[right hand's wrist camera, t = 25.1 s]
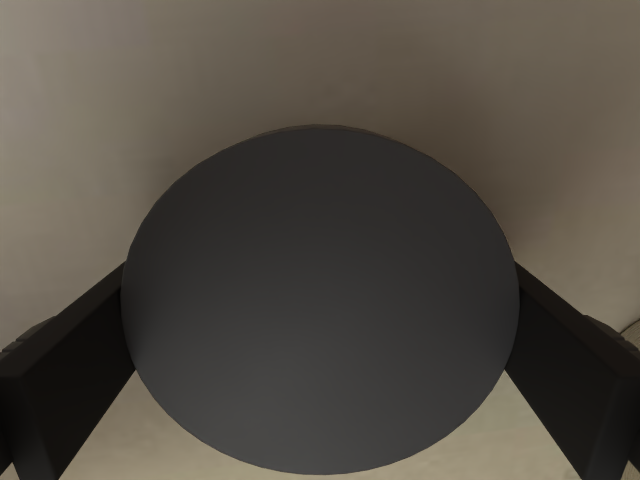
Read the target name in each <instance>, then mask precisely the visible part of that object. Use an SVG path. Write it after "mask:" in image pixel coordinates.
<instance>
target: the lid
mask: <svg viewBox="0 0 640 480" xmlns="http://www.w3.org/2000/svg"><path fill="white" fill-rule="evenodd" d="M120 303H121V320H122V325H123V330H124V335H125V339H126V343H127V347H128V350H129V353H130V356H131V359H132V362H133V364H134V366H135V368H136V370H137V372H138V374H139V376H140V378H141V380H142V381H143V383H144V384H145V386H146V387H147V389H148V390H149V392H150V393H151V395H152V396H153V398H154V399H155V400H156V401H157V402H158V403H159V405H160V406H161V407H162V408H163V409H164V410H165V411H166V413H167V414H168V415H169V416H170V417H172V418H173V419H174V420H175V421H176V422H177V423H178V424H179V425H180V426H181V427H183V428H184V429H185V430H186V431H188V432H189V433H191V434H192V435H193V436H195V437H196V438H198V439H199V440H200V441H202V442H204V443H205V444H207V445H209V446H211V447H212V448H214V449H216V450H218V451H219V452H222V453H224V454H226V455H228V456H231V457H233V458H235V459H238V460H240V461H243V462H246V463H249V464H252V465H255V466H258V467H262V468H266V469H271V470H275V471H280V472H287V473H295V474H304V475H333V474H347V473H353V472H359V471H365V470H370V469H374V468H378V467H381V466H385V465H389V464H392V463H394V462H397V461H400V460H402V459H405V458H408V457H410V456H412V455H414V454H416V453H418V452H420V451H422V450H424V449H426V448H428V447H430V446H432V445H433V444H435V443H436V442H438V441H440V440H441V439H443V438H444V437H446V436H447V435H449V434H450V433H451V432H452V431H454V430H455V429H456V428H457V427H459V426H460V425H461V424H462V423H464V422H465V421H466V420H467V419H468V418H469V417H470V416H471V415H472V414H473V413H474V412H475V411H476V410H477V409H478V407H479V406H480V405H481V404H482V403H483V401H484V400H485V399H486V397H487V396H488V395H489V393H490V392H491V391H492V390H493V388H494V386H495V384H496V383H497V381H498V379H499V378H500V376H501V374H502V373H503V371H504V368H505V366H506V364H507V361H508V359H509V356H510V354H511V352H512V348H513V345H514V341H515V336H516V332H517V327H518V320H519V310H520V298H519V282H518V277H517V272H516V267H515V263H514V258H513V256H512V253H511V250H510V248H509V245H508V242H507V240H506V237H505V235H504V233H503V231H502V230H501V228H500V226H499V224H498V223H497V221H496V219H495V217H494V216H493V214H492V213H491V211H490V210H489V209H488V208H487V206H486V205H485V204H484V203H483V201H482V200H481V199H480V198H479V196H478V195H477V194H476V193H475V192H474V191H473V190H472V189H471V188H470V187H469V186H468V185H467V184H466V183H465V182H464V181H462V180H461V179H460V178H459V177H458V176H457V175H456V174H455V173H453V172H452V171H450V170H449V169H448V168H446V167H445V166H443V165H442V164H440V163H439V162H437V161H436V160H434V159H433V158H431V157H430V156H427V155H425V154H423V153H421V152H419V151H417V150H415V149H413V148H411V147H409V146H407V145H405V144H403V143H400V142H398V141H396V140H393V139H391V138H389V137H386V136H383V135H380V134H376V133H373V132H370V131H367V130H363V129H357V128H352V127H346V126H340V125H304V126H294V127H286V128H282V129H278V130H274V131H270V132H266V133H262V134H260V135H257V136H255V137H252V138H250V139H247V140H245V141H242V142H240V143H237V144H235V145H233V146H230V147H228V148H226V149H224V150H222V151H220V152H218V153H216V154H215V155H213V156H211V157H209V158H208V159H206V160H204V161H202V162H201V163H199V164H197V165H196V166H195V167H193V168H192V169H191V170H190V171H188V172H187V173H186V174H185V175H183V176H182V177H181V178H179V179H178V180H177V181H176V182H174V184H173V185H172V186H171V187H170V188H169V189H168V190H167V191H166V192H165V193H164V194H163V195H162V196H161V197H160V198H159V200H158V201H157V202H156V203H155V204H154V206H153V207H152V209H151V210H150V212H149V213H148V215H147V216H146V218H145V219H144V220H143V222H142V223H141V225H140V227H139V229H138V232H137V234H136V236H135V238H134V240H133V242H132V244H131V246H130V249H129V253H128V256H127V260H126V263H125V266H124V270H123V277H122V285H121V292H120Z"/></svg>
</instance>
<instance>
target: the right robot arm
mask: <svg viewBox="0 0 640 480" xmlns="http://www.w3.org/2000/svg"><path fill="white" fill-rule="evenodd" d="M125 263H126V261H125V262H124V263H122V264H121V265H120V266H119V267H117V268H116V269H115V270H114V271H112V272H111V273H110V274H109V275H107V276H106V277H105V278H103V279H102V280H101V281H100V282H98V283H97V284H96V285H95V286H93V287H92V288H91V289H90V290H88V291H87V292H86V293H84V294H83V295H82V296H81V297H79V298H78V299H77V300H76V301H74V302H73V303H72V304H71V305H69V306H68V307H67V308H66V309H64V310H63V311H62V312H60V313H59V314H58V315H57V316H53V317H51V318H49V319H47V320H45V321H43V322H41V323H39V324H37V325H35V326H33V327H32V328H30V329H29V330H28V331H26V332H25V333H24V334H22V335H21V336H20V337H18V338H17V339H16V342H12V343H11V344H9V345H8V346H7V347H5V348H4V349H3V350H2V353H0V475H1V474H2V473H3V472H4V471H5V470H6V469H7V467H8V466H9V465H10V464H11V463H12V462H13V464H14V467H15V469H16V472H17V474H18V477H19V479H20V480H58V479H59V478H60V477H61V475H62V474H63V472H64V471H65V469H66V468H67V467H68V465H69V464H70V462H71V461H72V459H73V458H74V457H75V455H76V454H77V452H78V451H79V450H80V448H81V447H82V445H83V444H84V442H85V441H86V440H87V438H88V437H89V435H90V434H91V432H92V431H93V430H94V428H95V427H96V425H97V424H98V422H99V421H100V420H101V418H102V417H103V415H104V414H105V413H106V411H107V410H108V408H109V407H110V405H111V404H112V403H113V401H114V400H115V398H116V397H117V395H118V394H119V393H120V391H121V390H122V388H123V387H124V385H125V384H126V383H127V381H128V380H129V378H130V377H131V375H132V374H133V373H134V371H135V370H136V368H135V366H134V364H133V362H132V359H131V356H130V353H129V350H128V347H127V343H126V339H125V335H124V330H123V325H122V320H121V303H120V292H121V285H122V277H123V270H124V266H125ZM514 263H515V267H516V272H517V277H518V282H519V298H520V310H519V320H518V327H517V332H516V336H515V341H514V345H513V348H512V352H511V354H510V356H509V359H508V361H507V364H506V366H505V368H504V369H505V371H506V372H507V374H508V375H509V377H510V378H511V379H512V381H513V382H514V384H515V385H516V387H517V388H518V389H519V391H520V392H521V394H522V395H523V396H524V398H525V399H526V401H527V402H528V404H529V405H530V406H531V408H532V409H533V411H534V412H535V414H536V415H537V416H538V418H539V419H540V421H541V422H542V424H543V425H544V426H545V428H546V429H547V431H548V432H549V433H550V435H551V436H552V438H553V439H554V441H555V442H556V443H557V445H558V446H559V448H560V449H561V451H562V452H563V453H564V455H565V456H566V458H567V459H568V461H569V462H570V463H571V465H572V466H573V468H574V469H575V471H576V472H577V473H578V475H579V476H580V478H581V479H582V480H621V478H622V475H623V473H624V470H625V468H626V465H627V463H628V460H629V461H630V463H631V464H632V465H633V466H634V467H635V468H636V469H637V471H638V472H639V473H640V351H639V350H638V349H639V348H637V347H636V346H635V345H633V344H632V343H631V342H629V341H627V340H625V338H624V337H623V336H621V335H620V334H619V333H618V332H616V331H615V330H614V329H612V328H611V327H610V326H608V325H606V324H604V323H602V322H600V321H598V320H596V319H594V318H592V317H590V316H588V315H582V314H581V313H580V312H579V311H577V310H576V309H575V308H573V307H572V306H571V305H570V304H568V303H567V302H566V301H565V300H563V299H562V298H561V297H560V296H558V295H557V294H556V293H555V292H553V291H552V290H551V289H549V288H548V287H547V286H546V285H544V284H543V283H542V282H541V281H539V280H538V279H537V278H536V277H534V276H533V275H532V274H530V273H529V272H528V271H527V270H525V269H524V268H523V267H522V266H520V265H519V264H518V263H517V262H515V261H514Z"/></svg>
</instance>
